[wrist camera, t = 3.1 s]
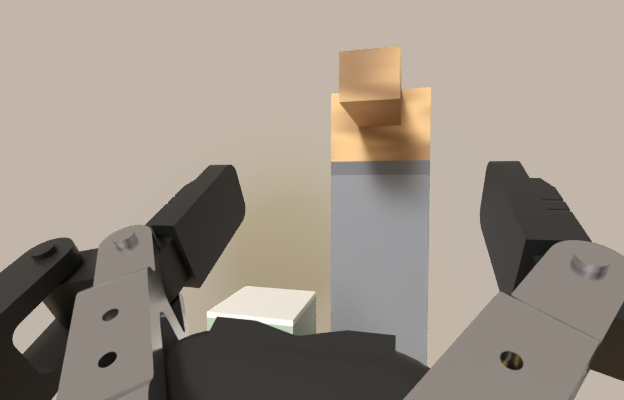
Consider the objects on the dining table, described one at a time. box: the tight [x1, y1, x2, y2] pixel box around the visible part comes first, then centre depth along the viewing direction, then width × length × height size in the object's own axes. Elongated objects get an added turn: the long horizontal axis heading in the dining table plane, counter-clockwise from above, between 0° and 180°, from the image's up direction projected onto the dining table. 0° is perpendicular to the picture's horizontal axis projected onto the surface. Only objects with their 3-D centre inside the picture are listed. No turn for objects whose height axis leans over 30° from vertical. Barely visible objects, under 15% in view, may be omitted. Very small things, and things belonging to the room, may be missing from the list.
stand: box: [331, 160, 430, 366], centre depth 29 cm, size 7×7×32 cm
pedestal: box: [207, 286, 316, 336], centre depth 34 cm, size 8×8×19 cm
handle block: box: [331, 46, 431, 162], centre depth 25 cm, size 7×15×5 cm, turn 166°
